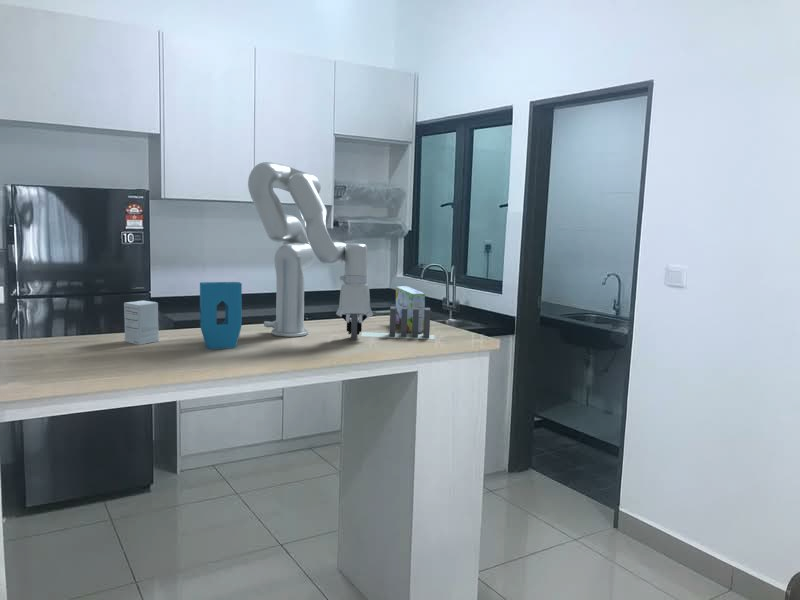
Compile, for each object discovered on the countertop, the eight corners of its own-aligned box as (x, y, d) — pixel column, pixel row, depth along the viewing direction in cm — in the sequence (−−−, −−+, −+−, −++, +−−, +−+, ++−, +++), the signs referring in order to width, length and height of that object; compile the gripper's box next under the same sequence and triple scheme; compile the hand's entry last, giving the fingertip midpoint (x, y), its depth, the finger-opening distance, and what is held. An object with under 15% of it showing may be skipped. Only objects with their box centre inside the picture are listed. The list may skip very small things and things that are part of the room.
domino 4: (411, 337, 221) (412, 309, 219) (410, 334, 226) (412, 307, 224) (417, 337, 221) (418, 309, 219) (417, 335, 226) (418, 307, 224)
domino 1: (349, 340, 213) (350, 311, 211) (351, 338, 218) (351, 309, 216) (356, 341, 213) (357, 311, 211) (357, 338, 218) (358, 309, 216)
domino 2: (388, 336, 221) (389, 308, 219) (388, 333, 226) (389, 306, 224) (395, 336, 221) (396, 308, 219) (395, 334, 226) (396, 306, 224)
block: (202, 349, 192) (201, 284, 189) (199, 346, 196) (199, 282, 194) (242, 347, 197) (242, 283, 194) (238, 344, 201) (238, 281, 199)
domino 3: (399, 337, 221) (400, 308, 219) (399, 334, 226) (400, 306, 224) (406, 337, 221) (407, 309, 219) (406, 334, 226) (407, 307, 224)
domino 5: (422, 337, 221) (423, 309, 219) (422, 335, 226) (423, 307, 224) (429, 338, 221) (430, 309, 219) (428, 335, 226) (429, 307, 224)
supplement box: (144, 338, 205) (143, 300, 203) (159, 341, 201) (158, 302, 199) (124, 342, 198) (123, 302, 197) (139, 345, 195) (138, 304, 193)
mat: (360, 337, 219) (360, 336, 219) (362, 333, 227) (362, 332, 227) (435, 340, 219) (435, 339, 219) (434, 335, 227) (434, 334, 227)
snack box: (393, 323, 250) (395, 286, 248) (407, 323, 252) (408, 286, 250) (410, 333, 230) (412, 292, 228) (425, 333, 232) (426, 292, 230)
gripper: (330, 280, 209) (329, 335, 211) (378, 282, 209) (376, 336, 211) (333, 278, 216) (331, 330, 219) (379, 279, 216) (377, 332, 219)
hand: (354, 333), depth 215 cm, fingers closed on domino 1, 2 cm apart
